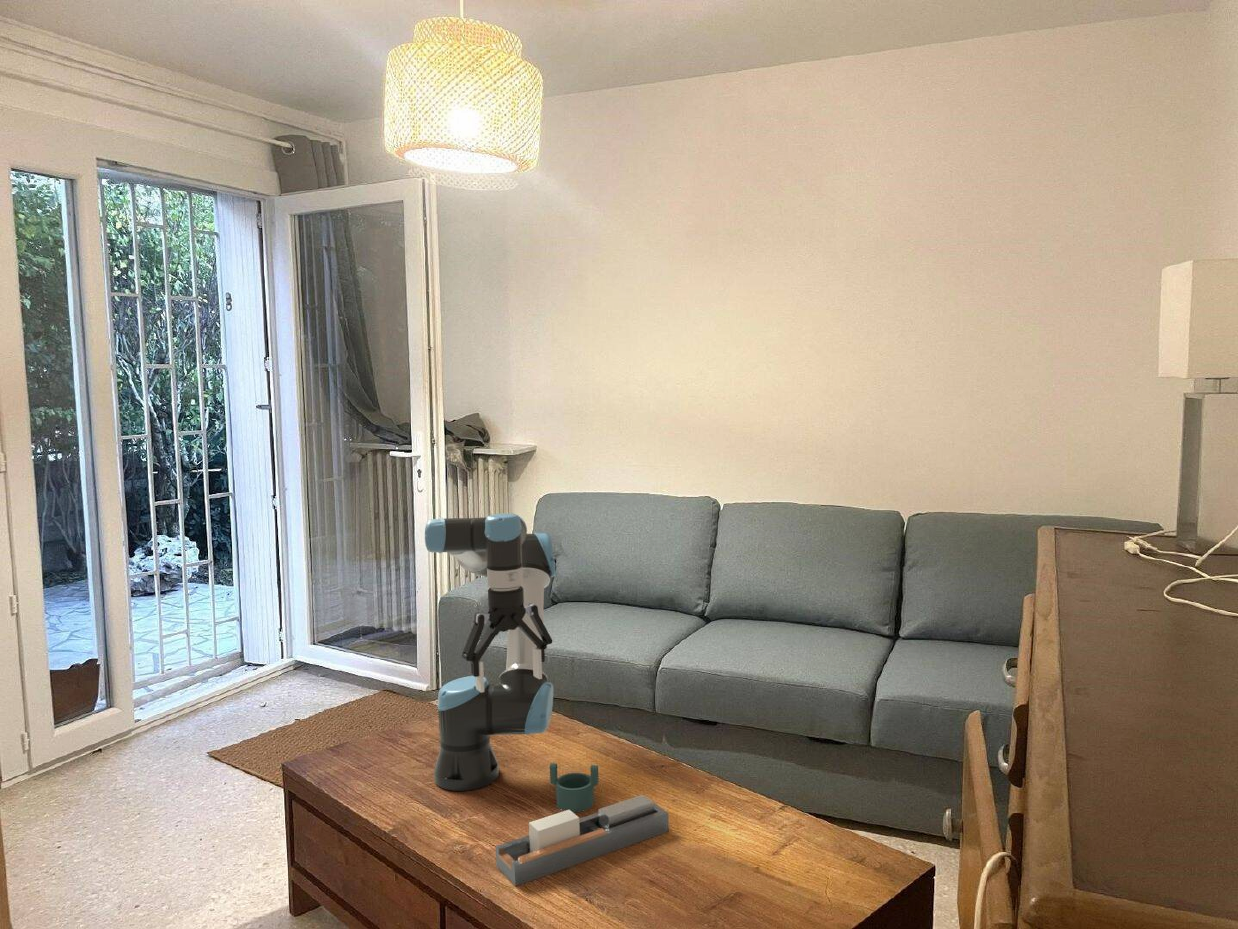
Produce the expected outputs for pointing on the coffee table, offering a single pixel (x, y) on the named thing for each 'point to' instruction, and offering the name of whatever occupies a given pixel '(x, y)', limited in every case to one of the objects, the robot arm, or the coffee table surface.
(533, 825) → the block
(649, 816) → the rack
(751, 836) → the coffee table surface
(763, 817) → the coffee table surface
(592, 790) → the teal cylindrical holder
